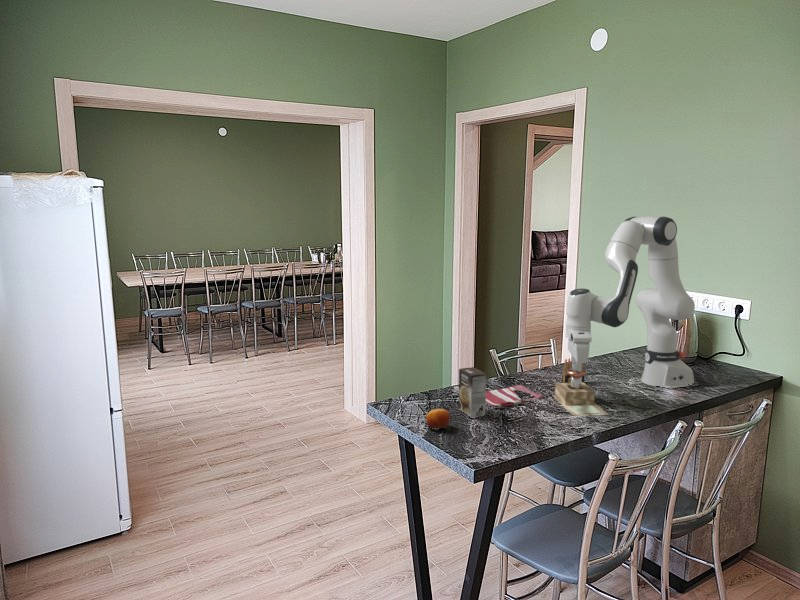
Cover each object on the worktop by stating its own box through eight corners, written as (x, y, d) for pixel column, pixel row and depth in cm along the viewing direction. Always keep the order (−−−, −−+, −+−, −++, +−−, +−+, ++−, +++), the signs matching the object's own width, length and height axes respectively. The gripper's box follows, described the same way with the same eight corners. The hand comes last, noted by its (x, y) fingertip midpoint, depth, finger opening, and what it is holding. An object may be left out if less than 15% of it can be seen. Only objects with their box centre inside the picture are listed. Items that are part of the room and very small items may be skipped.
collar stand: (584, 396, 233) (585, 381, 232) (608, 417, 211) (609, 400, 210) (552, 397, 232) (552, 382, 231) (572, 418, 210) (573, 402, 209)
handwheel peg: (564, 391, 230) (565, 360, 227) (583, 391, 229) (584, 360, 227) (567, 397, 223) (568, 365, 221) (587, 397, 222) (588, 365, 220)
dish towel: (545, 401, 229) (545, 395, 229) (494, 411, 219) (494, 404, 219) (518, 389, 244) (518, 382, 244) (469, 397, 234) (470, 391, 234)
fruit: (435, 432, 195) (429, 408, 198) (426, 436, 202) (421, 413, 205) (457, 428, 199) (451, 404, 201) (447, 432, 205) (441, 409, 208)
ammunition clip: (580, 382, 250) (582, 355, 248) (584, 384, 248) (585, 356, 246) (561, 386, 245) (562, 358, 243) (564, 388, 244) (565, 359, 241)
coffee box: (457, 411, 218) (458, 368, 215) (472, 408, 221) (473, 366, 218) (470, 419, 210) (471, 375, 207) (486, 416, 213) (487, 373, 210)
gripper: (564, 326, 232) (563, 360, 234) (574, 339, 212) (572, 376, 214) (581, 326, 231) (579, 361, 234) (592, 339, 211) (590, 376, 214)
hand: (576, 368), depth 224 cm, fingers closed on handwheel peg, 3 cm apart
